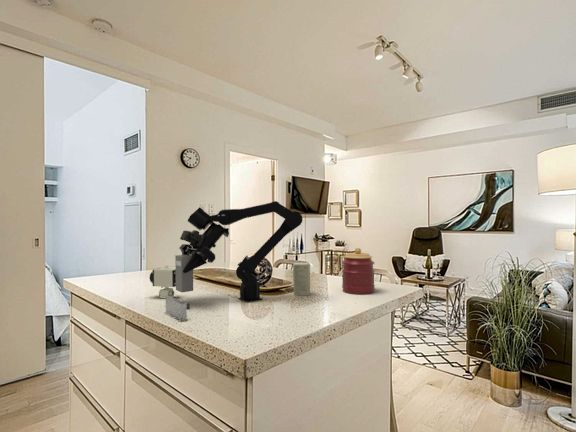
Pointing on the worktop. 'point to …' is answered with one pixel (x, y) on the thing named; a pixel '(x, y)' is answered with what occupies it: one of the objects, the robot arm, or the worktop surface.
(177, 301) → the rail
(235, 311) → the worktop surface
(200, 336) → the worktop surface
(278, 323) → the worktop surface
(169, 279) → the pneumatic valve
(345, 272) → the canister
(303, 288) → the skincare box
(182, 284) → the block
